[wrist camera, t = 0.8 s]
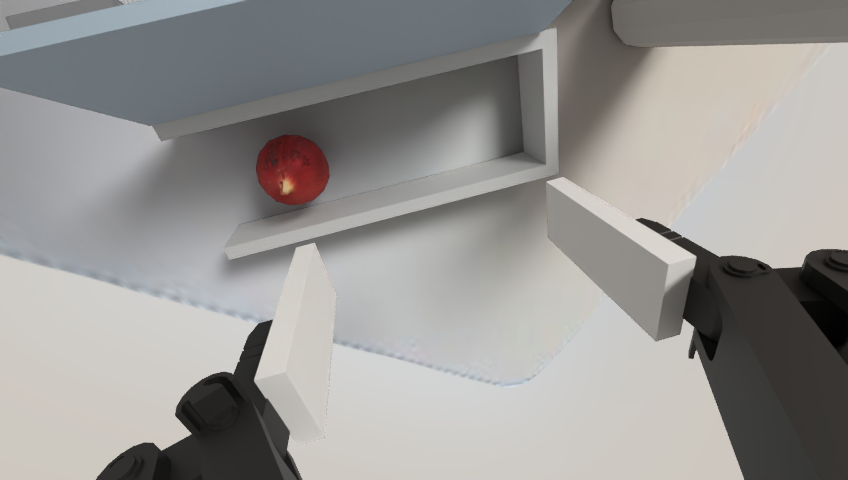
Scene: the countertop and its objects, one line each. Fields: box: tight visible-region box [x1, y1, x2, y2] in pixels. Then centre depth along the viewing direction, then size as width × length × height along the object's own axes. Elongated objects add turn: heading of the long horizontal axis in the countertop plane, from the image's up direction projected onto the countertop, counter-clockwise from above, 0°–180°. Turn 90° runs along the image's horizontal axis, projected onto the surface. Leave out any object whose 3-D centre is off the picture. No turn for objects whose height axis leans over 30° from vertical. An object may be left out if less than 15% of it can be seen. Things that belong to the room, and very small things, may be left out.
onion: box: [256, 135, 329, 205], centre depth 30 cm, size 6×6×8 cm
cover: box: [0, 0, 573, 126], centre depth 20 cm, size 1×30×13 cm, turn 102°
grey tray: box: [152, 28, 559, 260], centre depth 31 cm, size 12×31×5 cm, turn 102°
